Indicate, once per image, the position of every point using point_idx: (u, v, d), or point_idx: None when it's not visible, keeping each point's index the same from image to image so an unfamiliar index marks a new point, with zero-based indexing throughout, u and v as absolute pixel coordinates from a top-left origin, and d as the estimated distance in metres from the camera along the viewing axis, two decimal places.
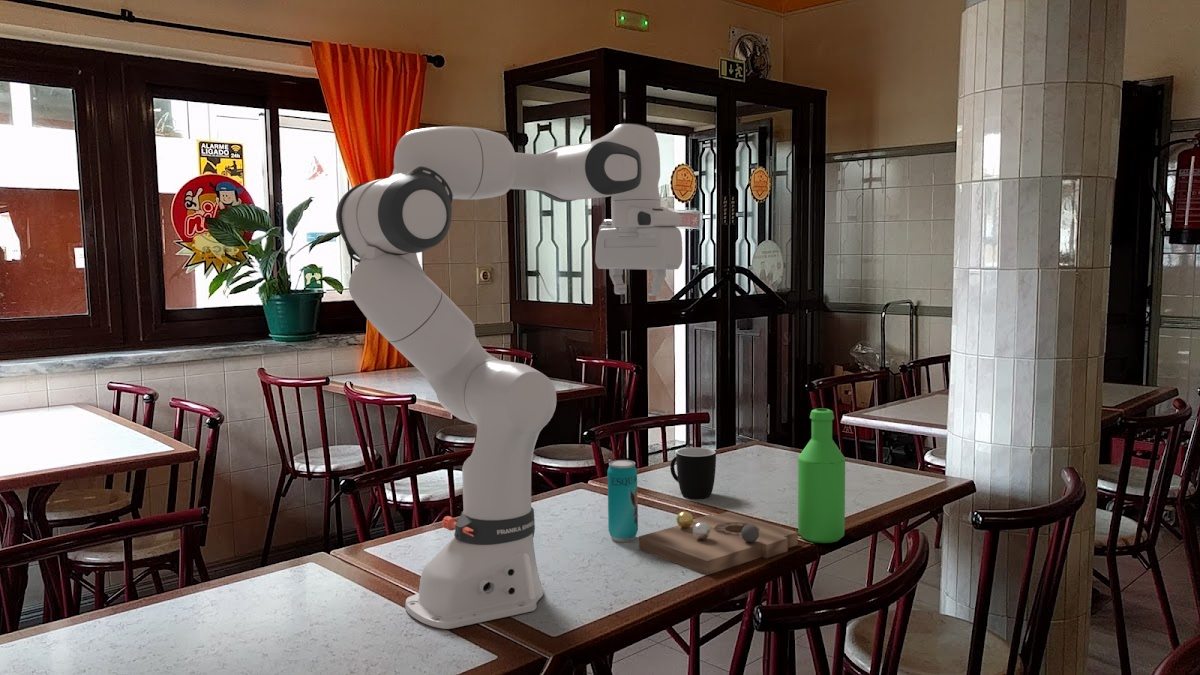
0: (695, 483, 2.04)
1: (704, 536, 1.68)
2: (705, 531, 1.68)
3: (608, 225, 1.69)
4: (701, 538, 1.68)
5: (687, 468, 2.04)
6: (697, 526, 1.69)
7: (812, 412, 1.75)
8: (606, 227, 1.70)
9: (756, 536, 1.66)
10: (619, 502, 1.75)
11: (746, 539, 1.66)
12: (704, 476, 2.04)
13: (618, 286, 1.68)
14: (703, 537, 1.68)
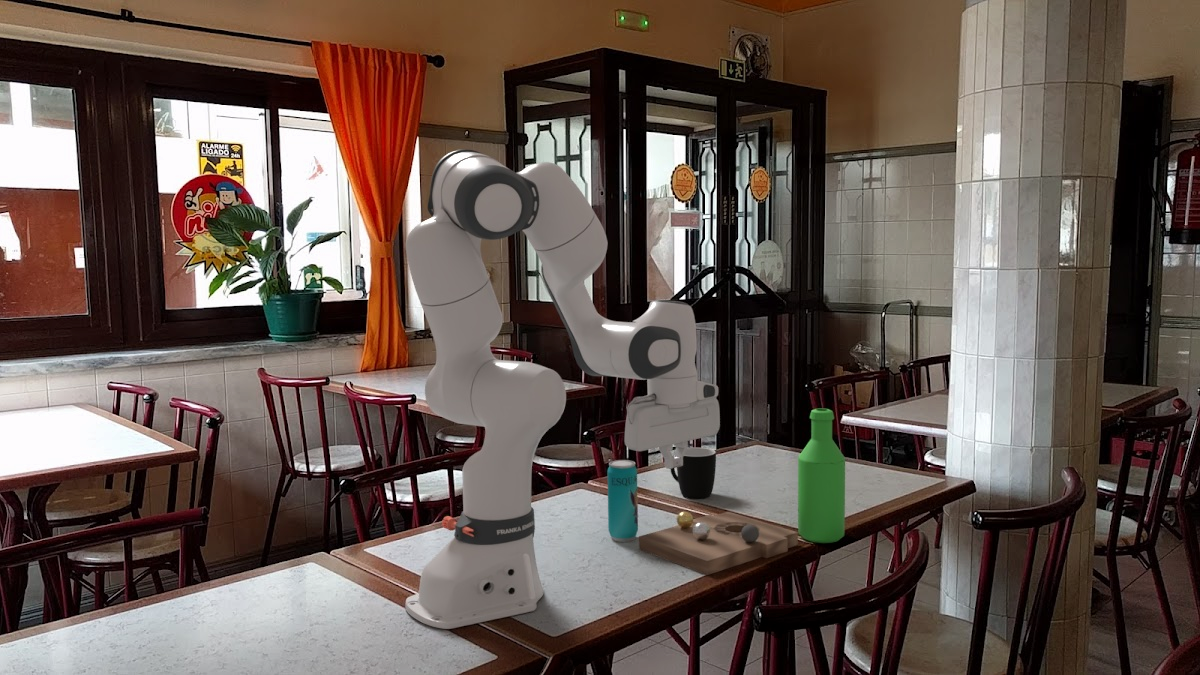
0: (695, 483, 2.04)
1: (704, 536, 1.68)
2: (705, 531, 1.68)
3: (642, 403, 1.58)
4: (701, 538, 1.68)
5: (687, 468, 2.04)
6: (697, 526, 1.69)
7: (812, 412, 1.75)
8: (640, 405, 1.57)
9: (756, 536, 1.66)
10: (619, 502, 1.75)
11: (746, 539, 1.66)
12: (704, 476, 2.04)
13: (676, 460, 1.63)
14: (703, 537, 1.68)
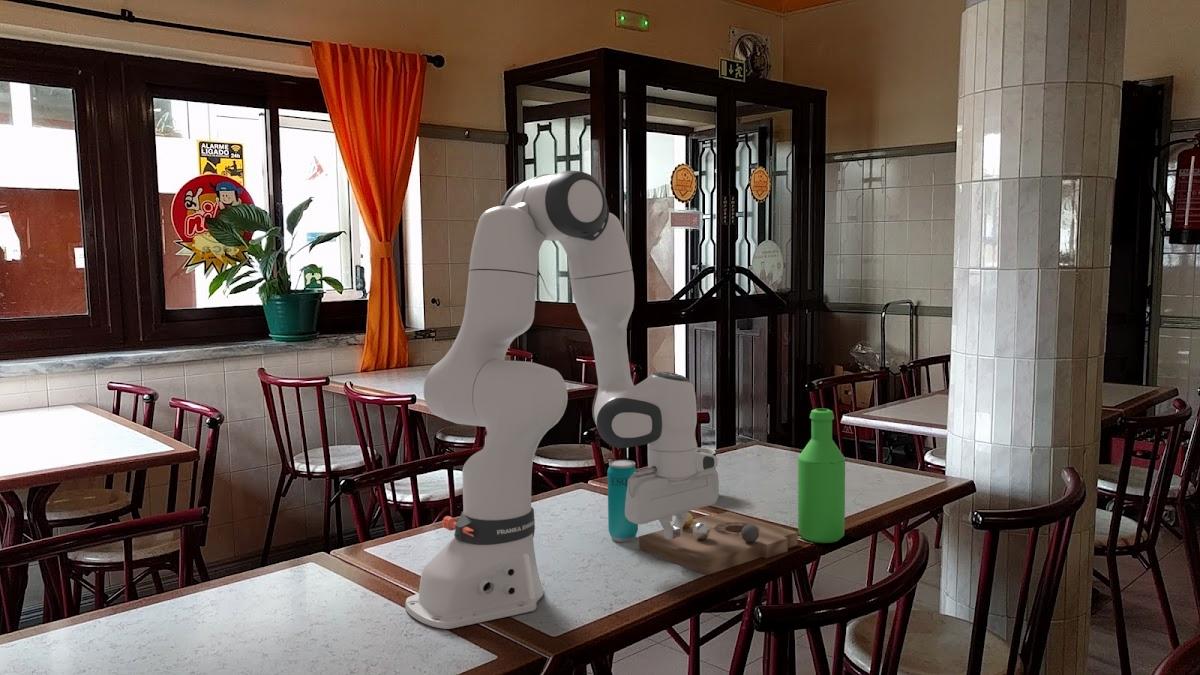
0: None
1: (704, 536, 1.68)
2: (705, 531, 1.68)
3: (642, 476, 1.59)
4: (701, 538, 1.68)
5: None
6: (697, 526, 1.69)
7: (812, 412, 1.75)
8: (640, 479, 1.59)
9: (756, 536, 1.66)
10: (619, 502, 1.75)
11: (746, 539, 1.66)
12: None
13: (675, 531, 1.65)
14: (703, 537, 1.68)
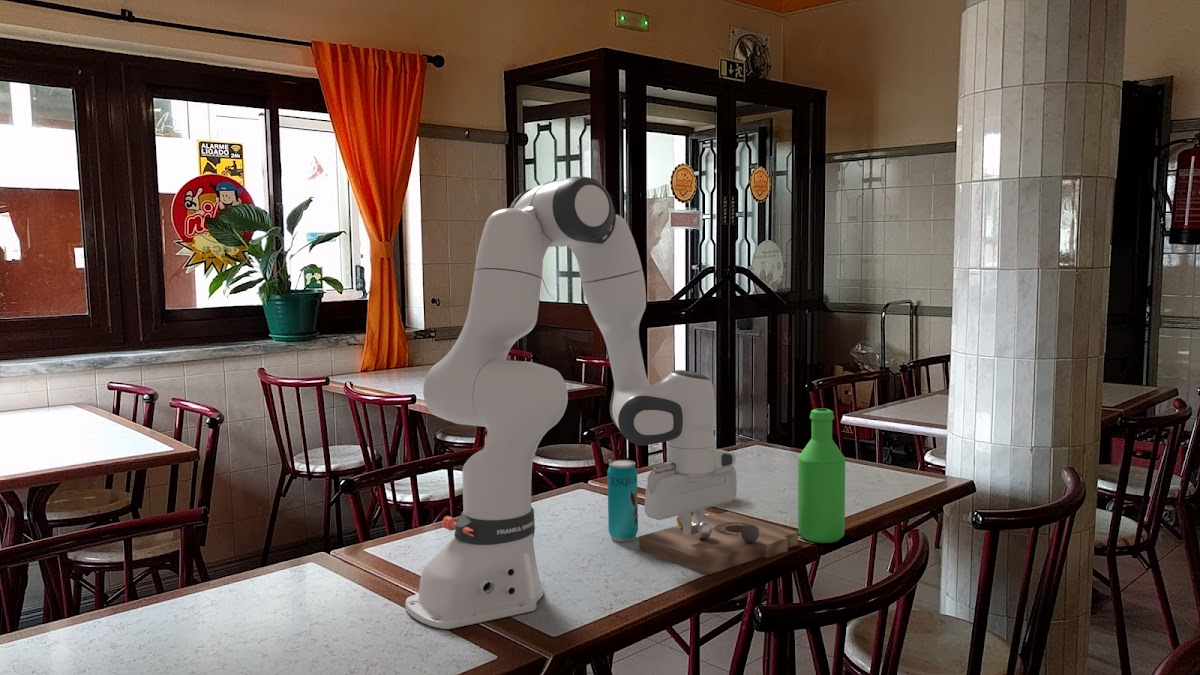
0: None
1: (706, 535, 1.68)
2: (707, 530, 1.68)
3: (662, 472, 1.62)
4: (703, 537, 1.69)
5: None
6: (700, 525, 1.69)
7: (812, 412, 1.75)
8: (660, 475, 1.62)
9: (756, 536, 1.66)
10: (619, 502, 1.75)
11: (746, 539, 1.66)
12: None
13: (694, 526, 1.67)
14: (705, 536, 1.69)
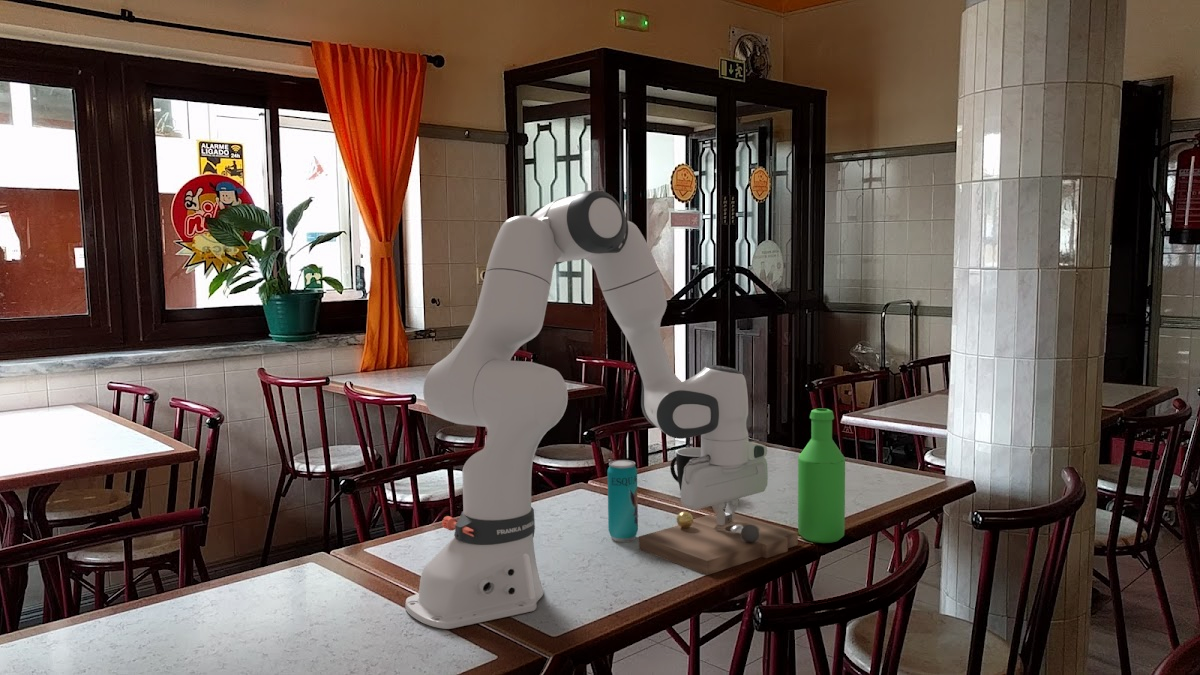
0: None
1: None
2: None
3: (697, 464, 1.67)
4: None
5: None
6: (739, 525, 1.76)
7: (812, 412, 1.75)
8: (695, 467, 1.67)
9: (756, 536, 1.66)
10: (619, 502, 1.75)
11: (746, 539, 1.66)
12: None
13: (727, 516, 1.73)
14: None
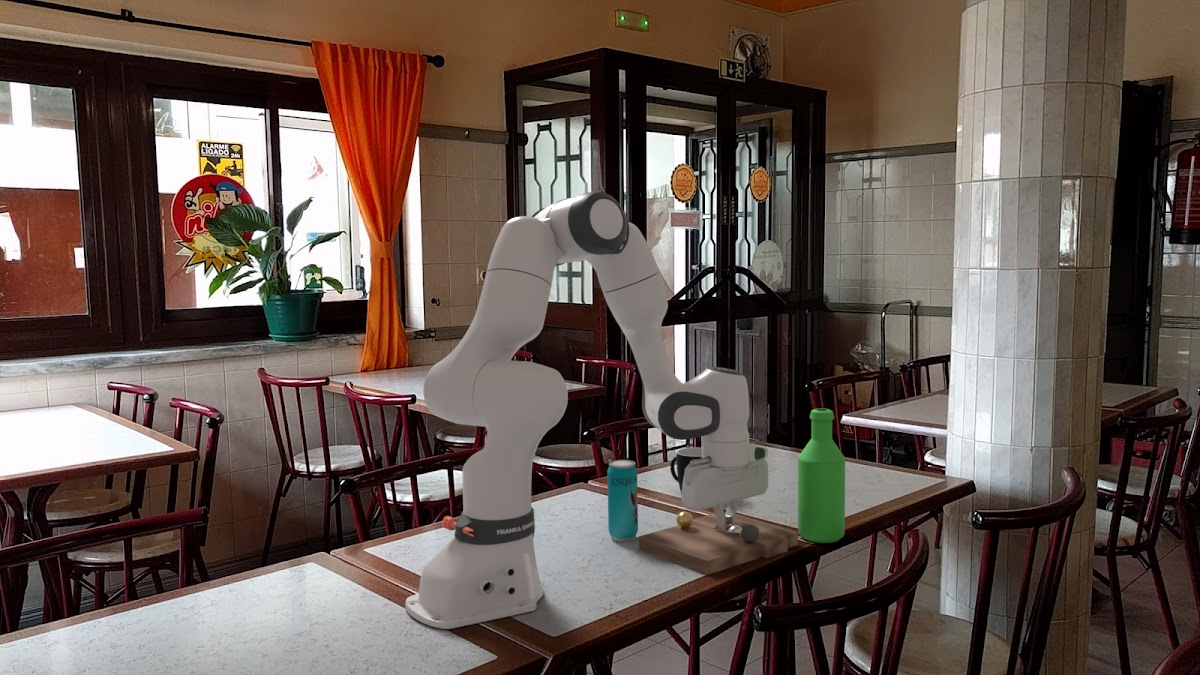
0: None
1: None
2: None
3: (698, 465, 1.67)
4: None
5: None
6: (734, 526, 1.75)
7: (812, 412, 1.75)
8: (696, 468, 1.67)
9: (756, 536, 1.66)
10: (619, 502, 1.75)
11: (746, 539, 1.66)
12: None
13: (728, 518, 1.73)
14: None
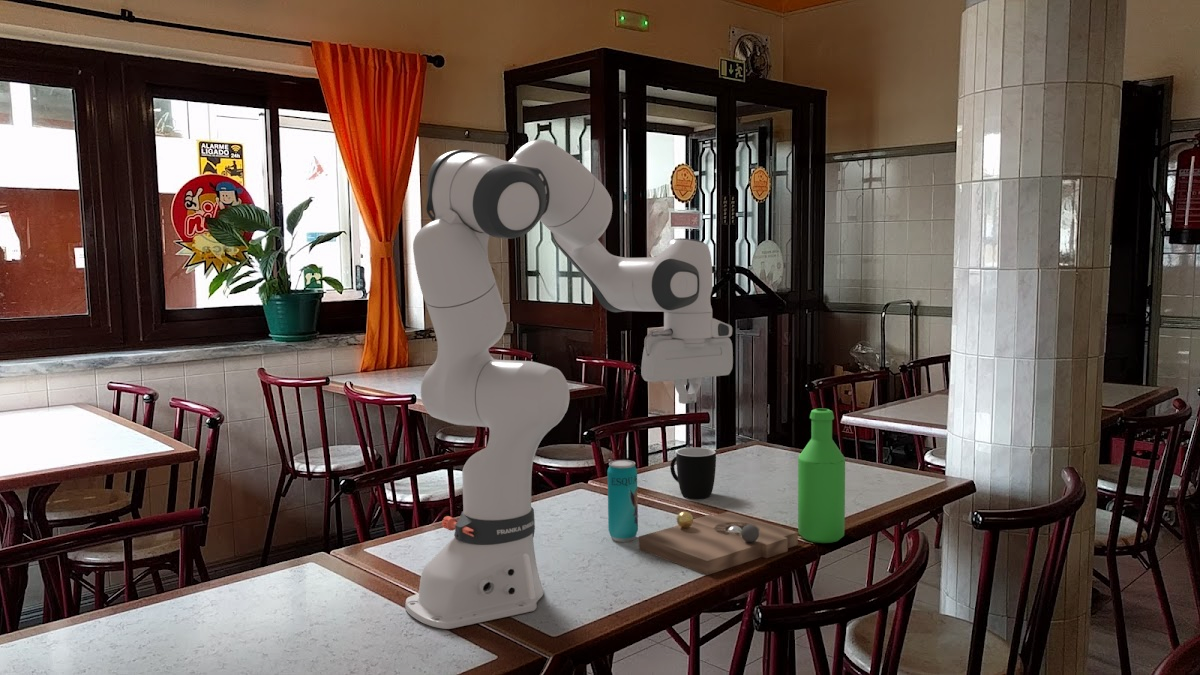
0: (695, 483, 2.04)
1: None
2: None
3: (659, 336, 1.63)
4: None
5: (687, 468, 2.04)
6: (733, 527, 1.75)
7: (812, 412, 1.75)
8: (657, 338, 1.63)
9: (756, 536, 1.66)
10: (619, 502, 1.75)
11: (746, 539, 1.66)
12: (704, 476, 2.04)
13: (690, 395, 1.68)
14: None
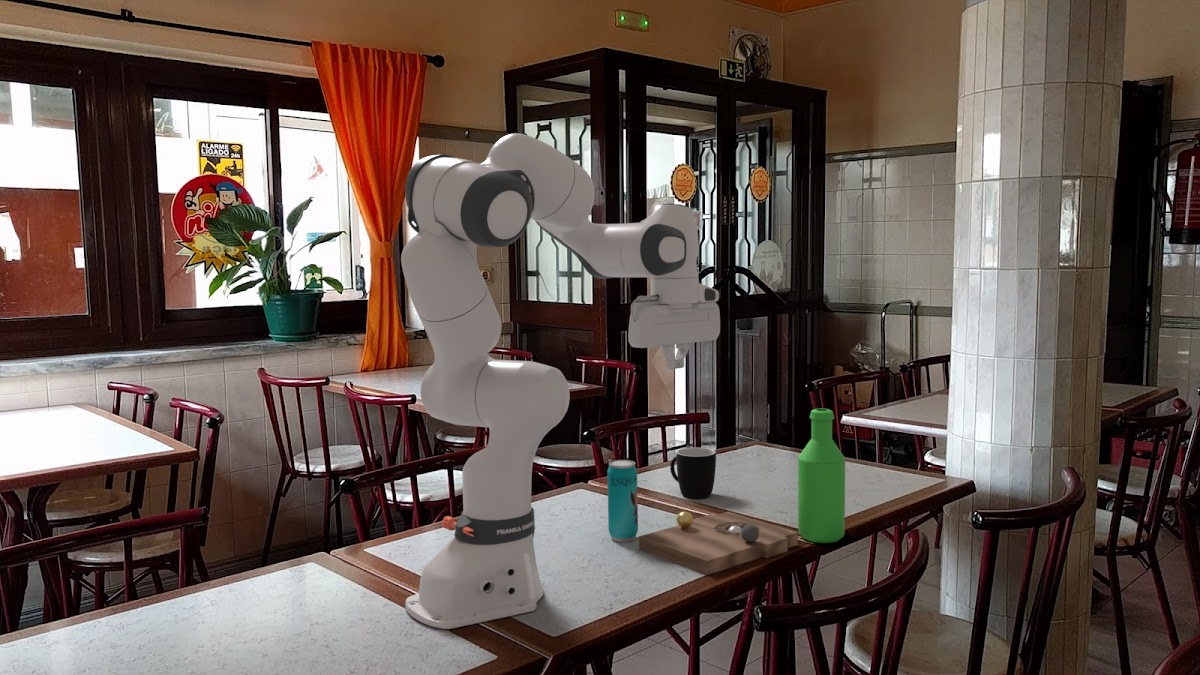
0: (695, 483, 2.04)
1: None
2: None
3: (645, 302, 1.63)
4: None
5: (687, 468, 2.04)
6: (734, 527, 1.75)
7: (812, 412, 1.75)
8: (643, 304, 1.63)
9: (756, 536, 1.66)
10: (619, 502, 1.75)
11: (746, 539, 1.66)
12: (704, 476, 2.04)
13: (677, 361, 1.69)
14: None
